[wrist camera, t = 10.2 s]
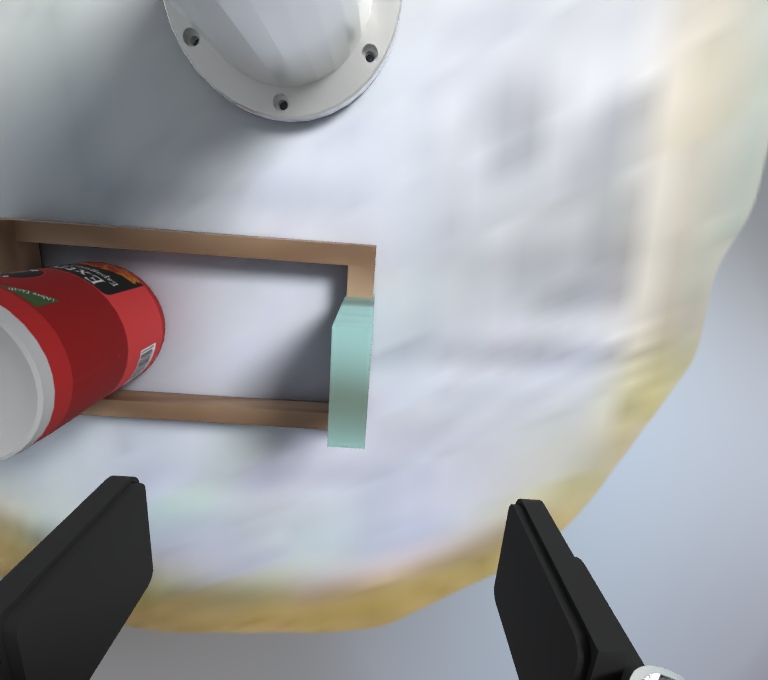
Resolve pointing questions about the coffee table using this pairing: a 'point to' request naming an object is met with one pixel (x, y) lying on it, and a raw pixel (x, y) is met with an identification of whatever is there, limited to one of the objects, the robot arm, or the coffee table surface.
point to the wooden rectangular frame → (355, 317)
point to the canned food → (69, 344)
